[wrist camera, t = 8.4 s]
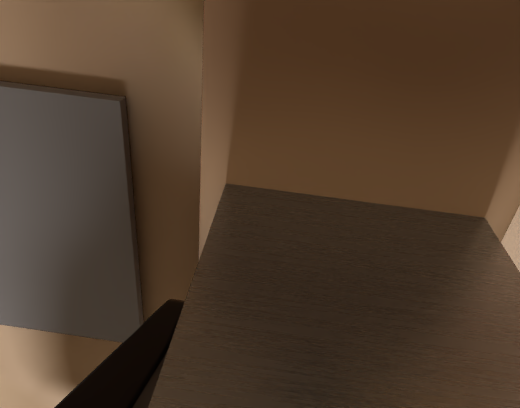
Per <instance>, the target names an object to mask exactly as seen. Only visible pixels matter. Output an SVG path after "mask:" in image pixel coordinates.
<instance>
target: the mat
mask: <svg viewBox="0 0 520 408" xmlns="http://www.w3.org/2000/svg"><path fill="white" fill-rule="evenodd" d="M143 323H144V322H143V309H142V297H141V284H140V272H139V259H138V247H137V235H136V222H135V210H134V197H133V185H132V173H131V160H130V148H129V135H128V123H127V111H126V98H125V97H124V96H116V95H108V94H100V93H92V92H84V91H76V90H68V89H60V88H52V87H44V86H37V85H29V84H21V83H13V82H5V81H0V325H7V326H14V327H20V328H27V329H34V330H41V331H48V332H55V333H61V334H68V335H75V336H82V337H89V338H96V339H103V340H109V341H116V342H124V341H125V340H126V339H127V338H129V337H130V336H131V335H132V334H133V333H134V332H135V331H136V330H137V329H138V328H139V327H140V326H141V325H142V324H143Z"/></svg>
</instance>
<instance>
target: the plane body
mask: <svg viewBox="0 0 520 408" xmlns="http://www.w3.org/2000/svg"><path fill="white" fill-rule="evenodd" d="M226 183H227V184H235V185H242V186H250V187H257V188H265V189H272V190H280V191H288V192H295V193H303V194H310V195H318V196H325V197H333V198H341V199H348V200H356V201H363V202H371V203H378V204H386V205H394V206H401V207H409V208H416V209H424V210H431V211H439V212H446V213H454V214H462V215H469V216H477V217H484V218H485V219H486V220H487V222H488V223H489V225H490V226H491V228H492V230H493V231H494V233H495V234H496V236H497V237H498V239H499V241H500V242H501V241H502V239H503V237H504V235H505V233H506V231H507V229H508V227H509V225H510V223H511V221H512V219H513V217H514V215H515V213H516V211H517V209H518V207H519V205H520V0H204V19H203V69H202V120H201V170H200V220H199V259H200V256H201V253H202V250H203V247H204V245H205V242H206V239H207V236H208V233H209V230H210V227H211V224H212V221H213V218H214V216H215V213H216V210H217V207H218V204H219V201H220V198H221V195H222V192H223V190H224V187H225V184H226Z"/></svg>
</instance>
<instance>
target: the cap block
mask: <svg viewBox="0 0 520 408" xmlns="http://www.w3.org/2000/svg"><path fill="white" fill-rule="evenodd" d="M148 408H520V272H519V270H518V269H517V267H516V266H515V264H514V263H513V261H512V259H511V258H510V256H509V255H508V253H507V252H506V250H505V248H504V247H503V245H502V244H501V242H500V241H499V239H498V237H497V236H496V234H495V233H494V231H493V230H492V228H491V226H490V225H489V223H488V222H487V220H486V219H485V218H484V217H477V216H469V215H462V214H454V213H446V212H439V211H431V210H424V209H416V208H409V207H401V206H394V205H386V204H378V203H371V202H363V201H356V200H348V199H341V198H333V197H325V196H318V195H310V194H303V193H295V192H288V191H280V190H272V189H265V188H257V187H250V186H242V185H235V184H227V183H226V184H225V187H224V190H223V192H222V195H221V198H220V201H219V204H218V207H217V210H216V213H215V216H214V218H213V221H212V224H211V227H210V230H209V233H208V236H207V239H206V242H205V245H204V247H203V250H202V253H201V256H200V259H199V262H198V265H197V268H196V271H195V273H194V276H193V279H192V282H191V285H190V288H189V291H188V294H187V297H186V300H185V302H184V305H183V308H182V311H181V314H180V317H179V320H178V323H177V326H176V329H175V331H174V334H173V337H172V340H171V343H170V346H169V349H168V352H167V355H166V357H165V360H164V363H163V366H162V369H161V372H160V375H159V378H158V381H157V384H156V386H155V389H154V392H153V395H152V398H151V401H150V404H149V407H148Z"/></svg>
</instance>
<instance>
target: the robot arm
mask: <svg viewBox="0 0 520 408" xmlns="http://www.w3.org/2000/svg"><path fill="white" fill-rule="evenodd" d="M184 302H185V301H182V300H175V299H170V300H168V301H167V302H166V303H164V304H163V305H162V306H161V307H160V308H159V309H158V310H157V311H156V312H155V313H154V314H153V315H152V316H151V317H150V318H149V319H148V320H146V321H145V322H144V323H143V324H142V325H141V326H140V327H139V328H138V329H137V330H136V331H135V332H134V333H133V334H132V335H131V336H130V337H129V338H127V339H126V340H125V341H124V342H123V343H122V344H121V345H120V346H119V347H118V348H117V349H116V350H115V351H114V352H113V353H112V354H111V355H110V356H108V357H107V358H106V359H105V360H104V361H103V362H102V363H101V364H100V365H99V366H98V367H97V368H96V369H95V370H94V371H93V372H92V373H90V374H89V375H88V376H87V377H86V378H85V379H84V380H83V381H82V382H81V383H80V384H79V385H78V386H77V387H76V388H75V389H74V390H73V391H71V392H70V393H69V394H68V395H67V396H66V397H65V398H64V399H63V400H62V401H61V402H60V403H59V404H58V405H57V406H56V407H55V408H148V407H149V404H150V401H151V398H152V395H153V392H154V389H155V386H156V384H157V381H158V378H159V375H160V372H161V369H162V366H163V363H164V360H165V357H166V355H167V352H168V349H169V346H170V343H171V340H172V337H173V334H174V331H175V329H176V326H177V323H178V320H179V317H180V314H181V311H182V308H183V305H184Z"/></svg>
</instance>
